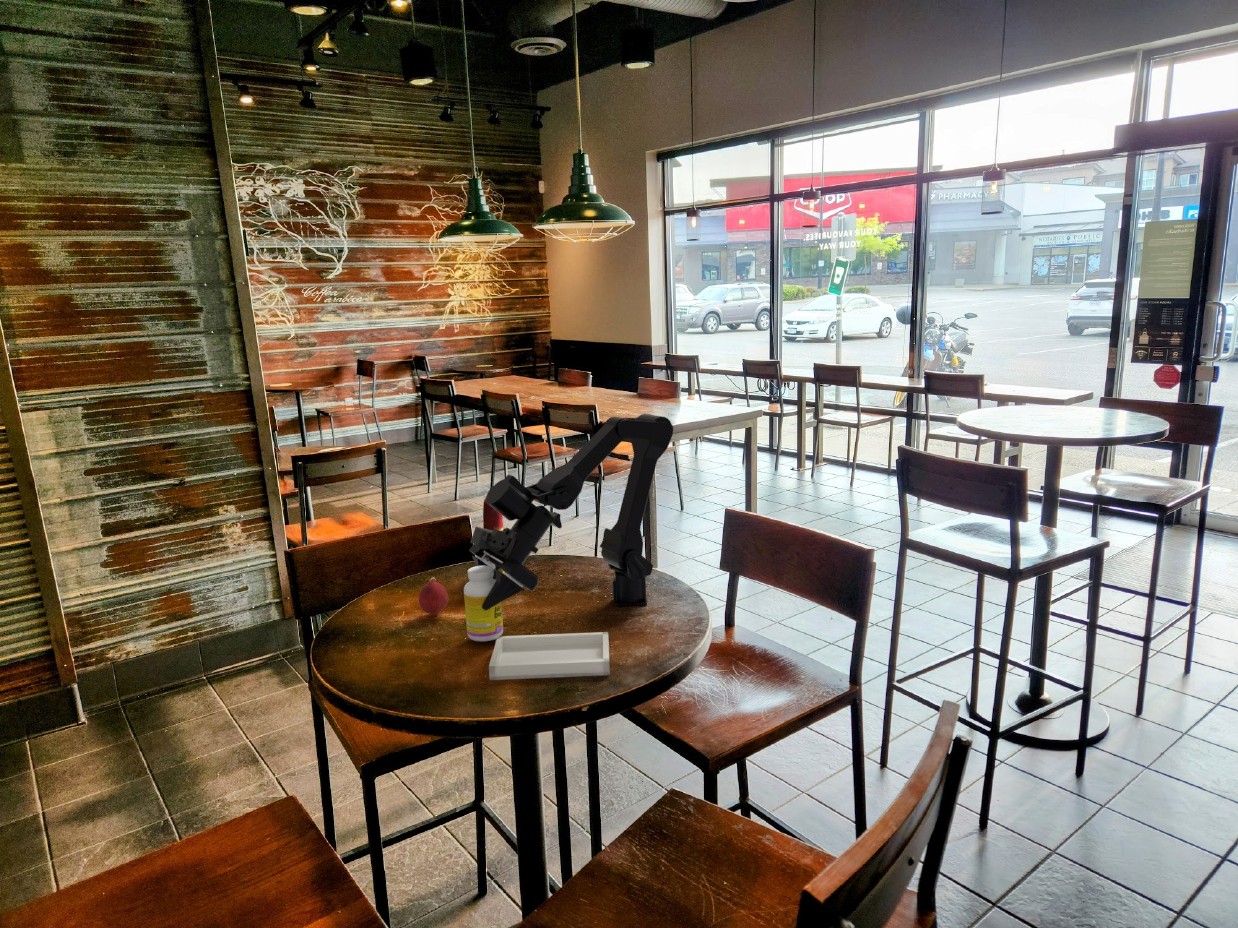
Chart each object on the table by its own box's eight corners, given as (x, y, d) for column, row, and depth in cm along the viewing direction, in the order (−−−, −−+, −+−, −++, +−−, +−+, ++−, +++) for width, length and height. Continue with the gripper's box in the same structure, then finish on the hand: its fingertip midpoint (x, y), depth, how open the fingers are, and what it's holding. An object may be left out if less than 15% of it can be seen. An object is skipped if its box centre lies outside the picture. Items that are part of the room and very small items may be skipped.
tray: (608, 644, 143) (608, 631, 142) (609, 674, 131) (609, 661, 131) (498, 649, 142) (497, 636, 142) (489, 680, 131) (488, 666, 130)
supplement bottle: (500, 642, 143) (495, 575, 140) (464, 643, 143) (458, 576, 140) (506, 627, 149) (501, 562, 147) (471, 628, 150) (466, 564, 147)
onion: (434, 623, 155) (431, 584, 154) (414, 617, 158) (410, 580, 157) (455, 613, 160) (452, 575, 159) (435, 608, 163) (431, 571, 162)
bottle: (514, 588, 173) (509, 500, 169) (485, 592, 172) (479, 503, 168) (505, 571, 185) (500, 489, 181) (478, 575, 183) (472, 491, 179)
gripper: (475, 500, 151) (425, 567, 148) (518, 520, 136) (464, 595, 132) (515, 532, 157) (467, 597, 153) (560, 554, 142) (509, 627, 138)
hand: (475, 603), depth 144 cm, fingers closed on supplement bottle, 7 cm apart
